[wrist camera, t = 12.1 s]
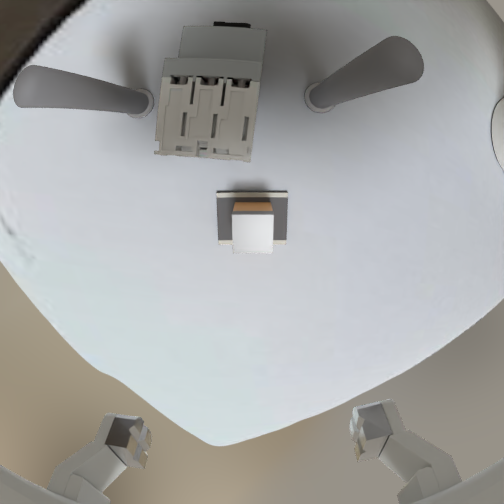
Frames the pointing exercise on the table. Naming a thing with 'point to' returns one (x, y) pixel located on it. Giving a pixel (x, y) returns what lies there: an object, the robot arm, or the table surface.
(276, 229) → the mat
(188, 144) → the circuit breaker
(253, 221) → the orange and grey block
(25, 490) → the robot arm
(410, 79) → the cord posts
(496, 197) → the table surface
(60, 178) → the table surface
